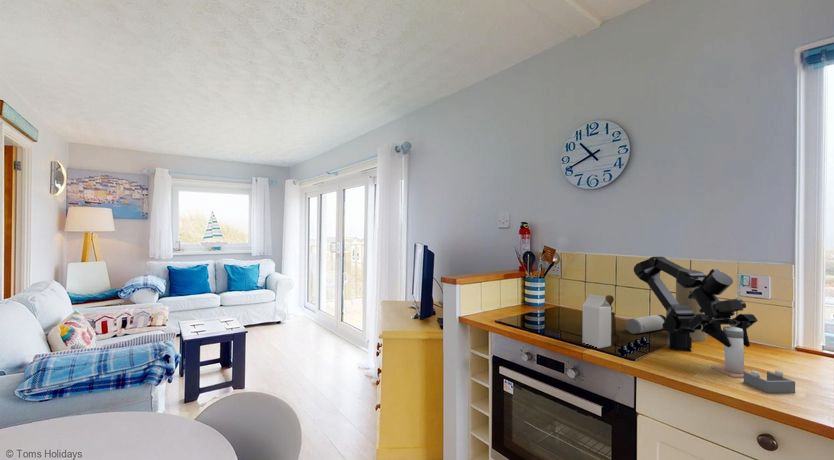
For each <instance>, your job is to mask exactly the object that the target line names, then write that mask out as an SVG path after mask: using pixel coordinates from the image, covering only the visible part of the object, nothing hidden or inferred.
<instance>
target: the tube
mask: <svg viewBox="0 0 834 460" xmlns="http://www.w3.org/2000/svg"><path fill="white" fill-rule="evenodd" d="M694 289H695V288H684V287H682V286H681V285H680V284H679V283H678V282H677V280H676V279H675V299H676V300H677V302H678V303H679V304H680V305H681V306H689V307H690V309H691V310H692V312H693V313H694V314H696V315H697V314H705V313H700V311H699V310H700V309H701V307H700V306H699V304H698V303H697V301H696V300H695V299H689V298H688V296H689V294H690V291H693V290H694ZM701 326H702V325H701ZM702 329H703V327H702V328H701V330H702ZM701 330H695V332H694V333H690V337H691V338H692V342H697V343H698V342H699V343H702V342H706V341H707V334H706V333H705V332H702V331H701Z"/></svg>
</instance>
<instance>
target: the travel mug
mask: <svg viewBox="0 0 834 460" xmlns="http://www.w3.org/2000/svg"><path fill="white" fill-rule="evenodd" d="M666 320H667V318H666V315H663V314H654V315H647V316H640V317H635V318H628V319H627V320H626V322H625V327H626V330H627V331H628V333H630V334H633V335H637V334H642V333H648V332H653V331H659V330H663V325H662V324H663V323H664V322H665V321H666Z"/></svg>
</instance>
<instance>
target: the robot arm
mask: <svg viewBox="0 0 834 460" xmlns="http://www.w3.org/2000/svg"><path fill="white" fill-rule="evenodd" d="M661 271H662V272H664V273H666V274H667V275H669V276H671V277H673V278H675V281H676V280H677V282H678V283H679V284H680V285H681V286H682V287H684V288H695V289H694V290H693V291H690V294H689V296H688V298H689V299H695V300H696V301H697V303H698V304H699V306H700V307H701V309H700V310H699V311H700V313H705V314H697V315H696V314H694V313H693V312H692V310H691V309H690V307H689V306H681V305H680V304H679V303H678V302H677V300H676V297H674V295H673V293H672V292H671V291H670V290H669V288H668V287H667V286H666V284H665V283H664V281H663V280H662V278H660V276H661ZM633 273H634V274H635V276H636V277H637V278H638V279H639V280H640V281H642V282H644V283H646V284H647V285H648V286H649V288H650V290H651V291H652V292H653V294H654V295H655V296H656V298H657V299H658V301H659V302H660V303H661V305H662V306H663V308H664V309H665V312H666V315H665V317H666V318H667V320H666V321H665V322H664V323H663V324H662V325H663V329H662V330H663V331H665V332H667V342H666V346H667V347H668V348H669V349H671V350H677V351H683V352H684V351H686V352H692V348H693V347H692V342H693V341H692V338H691V337H690V333H694V332H695V330H701V328H702V327H703V329H702V330H701V331H702V332H705V333H706V335H708V336H710V337H711V338H713V339H715V340H716V341H718V342H719V343H721V344H722V345H723V346H724V345H725V346H727V347H730V346H731V344H730V342H729V340H728V339H727V337H726V335H725V334H724V332H723V328H722V325H724V326H725V325H726V326H727V325H729V327H737V328H741V329H743V337H744V338H743V346H744V347H746V348H749V347H750V346H751V344H750V339H749V336H748V330H747V329H749V328H750V327H752V326H753V325H754V324H755V323H757V322H759V321H758V319H757V317H756V316H755V315H754V314H751V313H739V314H738V315H736V316H735V317H733V316H734V315H735V314H736V312H739V311H741V312H742V311H744V309H746V307H747V303H746V302H745V301H744V300H743V298H741V297H738V298H737V297H736V298H733V299H726V300H720V299H719V298H718V296H720V295H722V294H723V293H724V292H725V291H726V290H728V288H730V286H732V285H733V284H734V280H733V278H732V277H731V276H730V275H728V274H727V273H725V272H723V271H721V270H720V269H719V268H712V269H711V270H710V271H709V272H708V274H707V275H706V273H704V272H702V271H700V270H696V269H690V268H689V269H688V268H685V267H684V266H683V267H682V266H681V265H679V264H677V263H676V262H673V261H671V260H669V259H668V258H666V257H664V256H651V257H649V258H648V259H645V260H643V261H640V262H637V263H636V264H635V265H634V267H633ZM701 325H702V326H701Z"/></svg>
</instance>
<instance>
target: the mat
mask: <svg viewBox="0 0 834 460" xmlns="http://www.w3.org/2000/svg"><path fill="white" fill-rule="evenodd" d="M711 369H713V370H715V371H718V372H720V373H722V374H724V375H727V376H728V377H731V378H733V379H744V373H735V372H730V371H727V370H725V365H711ZM745 372H748V373H750V374H751V371H750V370H747V369H745ZM759 377H760V378H761V376H760V375H759Z"/></svg>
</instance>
